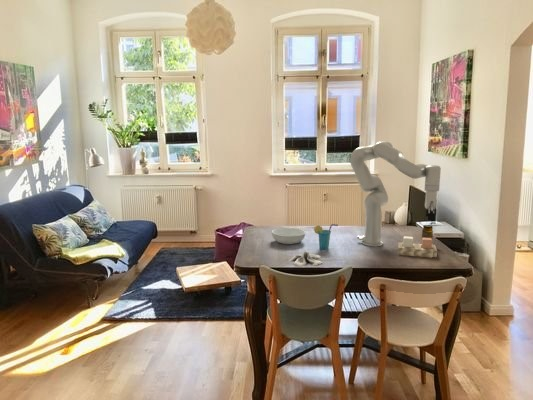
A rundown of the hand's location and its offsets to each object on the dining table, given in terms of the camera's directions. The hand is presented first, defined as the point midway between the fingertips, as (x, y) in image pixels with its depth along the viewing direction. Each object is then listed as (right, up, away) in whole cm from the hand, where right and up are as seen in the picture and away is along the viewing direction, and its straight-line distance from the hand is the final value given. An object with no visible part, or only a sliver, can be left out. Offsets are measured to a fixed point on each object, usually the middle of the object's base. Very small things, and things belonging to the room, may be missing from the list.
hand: (429, 218), depth 234 cm
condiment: (+6, -17, +21) cm, 28 cm away
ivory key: (-10, -17, +6) cm, 21 cm away
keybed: (-6, -20, +5) cm, 21 cm away
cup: (-56, -19, +13) cm, 61 cm away
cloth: (-71, -23, -8) cm, 75 cm away
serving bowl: (-77, -16, +27) cm, 84 cm away
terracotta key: (-1, -18, +3) cm, 18 cm away
